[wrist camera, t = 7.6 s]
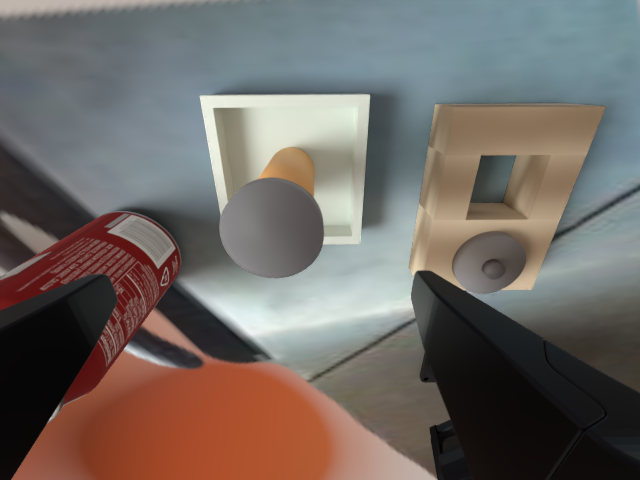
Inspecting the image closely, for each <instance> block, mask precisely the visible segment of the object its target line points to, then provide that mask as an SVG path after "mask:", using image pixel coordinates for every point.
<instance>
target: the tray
mask: <svg viewBox="0 0 640 480" xmlns="http://www.w3.org/2000/svg"><path fill="white" fill-rule="evenodd" d="M200 100H201V106H202V111H203V117H204V123H205V129H206V134H207V140H208V146H209V151H210V157H211V163H212V169H213V174H214V180H215V186H216V192H217V197H218V203H219V209H220V214H222V212H223V209H224V208H225V206H226V204H227V203H228V202H229V200H230V199H231V198H232V196H233V195H234V194H235V193H236V192H237V191H238V190H239V189H240V188H241V187H243V186H244V185H245V184H247V183H249V182H251V181H254V180H257V179H258V178H259V177H260V175H261V174H262V172H263V171H264V169H265V168H266V166H267V165H268V163H269V162H270V160H271V159H272V157H273V156H274V155H275V154H276V153H277V152H278V151H279V150H281V149H284V148H288V147H294V148H298V149H301V150H303V151H304V152H306V153H307V154H308V155H309V156H310V158H311V160H312V161H313V164H314V170H315V172H314V199H315V200H316V202H317V203H318V205H319V207H320V210H321V212H322V216H323V224H324V241H323V244H360V241H361V226H362V211H363V196H364V181H365V166H366V151H367V136H368V121H369V105H370V95H369V94H212V95H202V96H200Z"/></svg>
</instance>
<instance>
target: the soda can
mask: <svg viewBox="0 0 640 480" xmlns="http://www.w3.org/2000/svg"><path fill="white" fill-rule="evenodd" d="M180 268H181V253H180V249H179V247H178V245H177V243H176V241H175V239H174V238H173V237H172V235H171V234H170V233H169V232H168V231H167V230H166V229H165V228H164V227H163V226H162V225H160V224H159V223H157V222H156V221H154V220H153V219H151V218H149V217H146V216H144V215H141V214H138V213H134V212H128V211H115V212H110V213H106V214H104V215H102V216H100V217H98V218H97V219H95V220H93V221H92V222H90V223H88V224H87V225H85V226H83V227H82V228H80V229H79V230H77V231H75V232H74V233H72V234H70V235H69V236H67V237H65V238H64V239H62V240H61V241H59V242H57V243H56V244H54V245H52V246H51V247H49V248H47V249H46V250H44V251H42V252H41V253H39V254H38V255H36V256H34V257H33V258H31V259H29V260H28V261H26V262H24V263H23V264H21V265H20V266H18V267H16V268H15V269H13V270H11V271H10V272H8V273H6V274H5V275H3V276H1V277H0V310H2V309H4V308H7V307H9V306H12V305H14V304H17V303H19V302H22V301H24V300H27V299H29V298H32V297H34V296H37V295H39V294H42V293H44V292H47V291H49V290H52V289H54V288H57V287H59V286H62V285H64V284H67V283H69V282H72V281H74V280H77V279H79V278H82V277H84V276H87V275H89V274H106V275H108V276H109V277H110V279H111V282H112V284H113V287H114V289H115V292H116V294H117V298H118V300H117V305H116V307H115V309H114V311H113V313H112V315H111V317H110V319H109V321H108V323H107V325H106V326H105V328H104V330H103V332H102V334H101V336H100V338H99V340H98V342H97V344H96V346H95V348H94V350H93V352H92V353H91V355H90V356H89V358H88V360H87V361H86V363H85V364H84V366H83V368H82V369H81V371H80V372H79V374H78V375H77V377H76V379H75V380H74V382H73V383H72V385H71V386H70V388H69V390H68V391H67V393H66V394H65V396H64V397H63V399H62V401H61V402H60V404H59V405H58V407H57V408H56V410H55V412H54V413H53V415H52V416H51V418H50V419H49V421H48V423H49V422H50V421H51V420H53V419H54V418H55V417H56V416H57V415H58V413H59V412H60V411H61V409H62V407H63V406H64V405H66V404H68V403H70V402H72V401H74V400H76V399H78V398H80V397H82V396H84V395H86V394H88V393H89V392H90V391H92V390H93V389H94V388H95V387H96V386H97V385H98V383H99V382H100V381H101V379H102V378H103V377H104V375H105V374H106V373H107V371H108V370H109V368H110V367H111V366H112V364H113V363H114V362H115V360H116V359H117V357H118V356H119V355H120V353H121V352H122V351H123V349H124V348H125V347H126V345H127V344H128V342H129V341H130V340H131V338H132V337H133V336H134V334H135V333H136V332H137V330H138V329H139V327H140V326H141V325H142V323H143V322H144V321H145V319H146V318H147V316H148V315H149V314H150V312H151V311H152V310H153V308H154V307H155V305H156V304H157V303H158V301H159V300H160V299H161V297H162V296H163V295H164V293H165V292H166V290H167V289H168V288H169V286H170V285H171V284H172V282H173V281H174V279H175V278H176V277H177V275H178V273H179V271H180Z"/></svg>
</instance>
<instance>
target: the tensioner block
mask: <svg viewBox="0 0 640 480" xmlns="http://www.w3.org/2000/svg"><path fill="white" fill-rule="evenodd" d="M605 108H606V106H594V105H581V104H568V103H515V104H435V108H434V114H433V120H432V126H431V133H430V139H429V145H428V151H427V158H426V164H425V170H424V176H423V183H422V189H421V195H420V201H419V208H418V214H417V220H416V226H415V233H414V239H413V245H412V251H411V257H410V264H409V269H410V271H411V273H412V275H413V277H414V275H415V272H416V271H418V270H430V271H432V272H434V273H436V274H437V275H439V276H441V277H442V278H444V279H446V280H447V281H449V282H451V283H452V284H454V285H456V286H457V287H459V288H461V289H462V290H468V291H470V292H473V293H478V294H487V293H492V292H496V291H499V290H532V288H533V285H534V283H535V280H536V278H537V275H538V273H539V270H540V268H541V265H542V263H543V260H544V258H545V256H546V253H547V251H548V248H549V246H550V243H551V241H552V238H553V236H554V233H555V231H556V229H557V226H558V224H559V221H560V219H561V216H562V214H563V211H564V209H565V206H566V204H567V201H568V199H569V197H570V194H571V192H572V189H573V187H574V184H575V182H576V179H577V177H578V174H579V172H580V170H581V167H582V165H583V162H584V160H585V157H586V155H587V152H588V150H589V147H590V145H591V142H592V140H593V138H594V135H595V133H596V130H597V128H598V125H599V123H600V120H601V118H602V115H603V113H604V111H605ZM481 155H516V159H515V162H514V165H513V169H512V172H511V175H510V179H509V182H508V185H507V189H506V192H505V195H504V199H503V202H502V203H470V199H471V195H472V191H473V187H474V183H475V179H476V175H477V171H478V166H479V162H480V158H481Z"/></svg>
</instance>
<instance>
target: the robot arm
mask: <svg viewBox="0 0 640 480" xmlns="http://www.w3.org/2000/svg"><path fill="white" fill-rule="evenodd" d="M117 300H118V298H117V294H116V292H115V289H114V287H113V284H112V282H111V279H110V277H109V276H108V275H106V274H89V275H87V276H84V277H82V278H79V279H77V280H74V281H72V282H69V283H67V284H64V285H62V286H59V287H57V288H54V289H52V290H49V291H47V292H44V293H42V294H39V295H37V296H34V297H32V298H29V299H27V300H24V301H22V302H19V303H17V304H14V305H12V306H9V307H7V308H4V309H2V310H0V480H11V479H12V477H13V476H14V474H15V473H16V471H17V469H18V468H19V466H20V465H21V463H22V462H23V460H24V459H25V457H26V455H27V454H28V452H29V451H30V449H31V448H32V446H33V445H34V443H35V441H36V440H37V438H38V437H39V435H40V433H41V432H42V430H43V429H44V427H45V426H46V424H47V423H48V421H49V419H50V418H51V416H52V415H53V413H54V412H55V410H56V408H57V407H58V405H59V404H60V402H61V401H62V399H63V397H64V396H65V394H66V393H67V391H68V390H69V388H70V386H71V385H72V383H73V382H74V380H75V379H76V377H77V375H78V374H79V372H80V371H81V369H82V368H83V366H84V364H85V363H86V361H87V360H88V358H89V356H90V355H91V353H92V352H93V350H94V348H95V346H96V344H97V342H98V340H99V338H100V336H101V334H102V332H103V330H104V328H105V326H106V325H107V323H108V321H109V319H110V317H111V315H112V313H113V311H114V309H115V307H116V305H117ZM411 300H412V304H413V308H414V312H415V316H416V320H417V324H418V328H419V332H420V336H421V340H422V344H423V347H424V350H425V354H424V359H423V363H422V368H421V372H420V379H421V381H422V382H436V384H437V386H438V389H439V391H440V394H441V396H442V399H443V402H444V404H445V407H446V409H447V412H448V414H449V417H450V419H451V420H448V421H446V422H444V423H442V424H439V425H437V426H436V425H434V426H432V427H430V434H431V444H432V450H433V455H434V461H435V467H436V473H437V479H438V480H640V392H638V391H636V390H634V389H632V388H631V387H629V386H627V385H625V384H623V383H621V382H619V381H617V380H616V379H614V378H612V377H610V376H608V375H606V374H605V373H603V372H601V371H599V370H597V369H595V368H594V367H592V366H590V365H588V364H586V363H585V362H583V361H581V360H579V359H578V358H576V357H574V356H573V355H571V354H569V353H567V352H566V351H564V350H562V349H561V348H559V347H557V346H556V345H554V344H552V343H551V342H549V341H547V340H543V338H542V337H541V336H539V335H537V334H536V333H534V332H532V331H531V330H529V329H527V328H526V327H524V326H522V325H521V324H519V323H517V322H516V321H514V320H512V319H511V318H509V317H507V316H506V315H504V314H502V313H501V312H499V311H497V310H496V309H494V308H492V307H491V306H489V305H487V304H486V303H484V302H482V301H481V300H479V299H477V298H476V297H474V296H472V295H471V294H469V293H467V292H466V291H464V290H462V289H461V288H459V287H457V286H456V285H454V284H452V283H451V282H449V281H447V280H446V279H444V278H442V277H441V276H439V275H437V274H436V273H434V272H432V271H430V270H418V271H416V272H415V275H414V280H413V286H412V292H411Z"/></svg>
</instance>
